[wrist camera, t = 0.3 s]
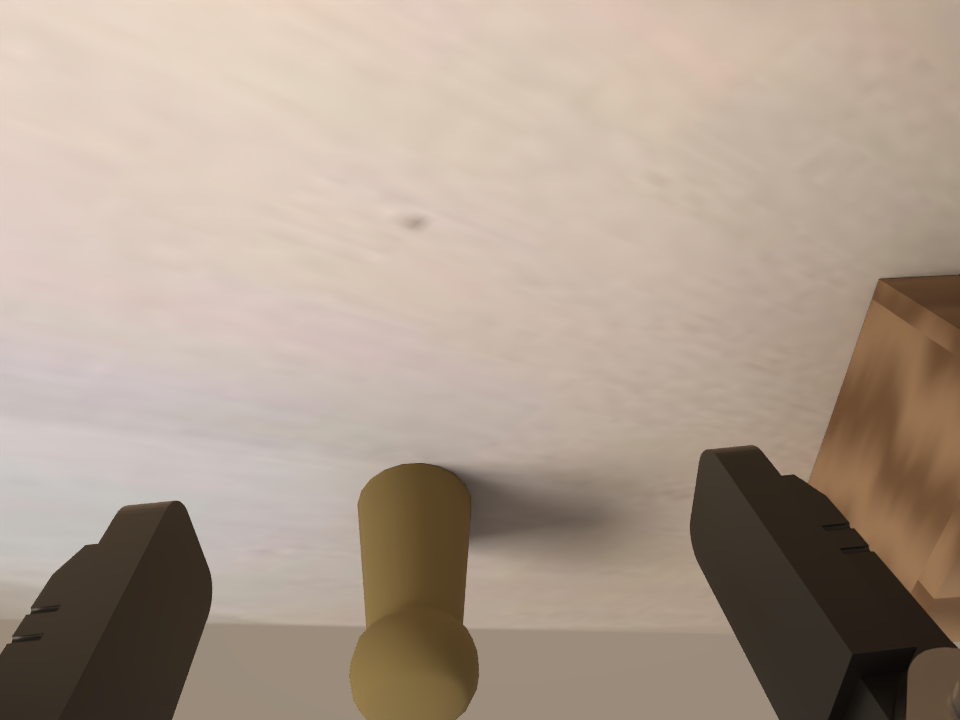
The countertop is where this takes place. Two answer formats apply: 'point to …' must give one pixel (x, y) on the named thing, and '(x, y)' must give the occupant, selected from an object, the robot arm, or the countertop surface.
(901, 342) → the drop box
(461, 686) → the cork
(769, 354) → the countertop surface
